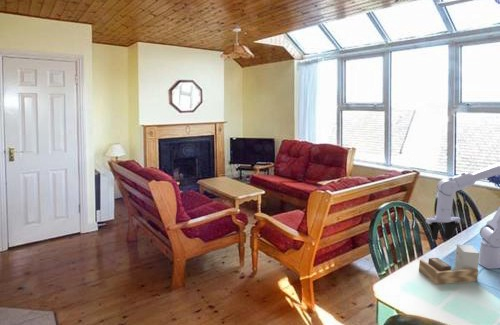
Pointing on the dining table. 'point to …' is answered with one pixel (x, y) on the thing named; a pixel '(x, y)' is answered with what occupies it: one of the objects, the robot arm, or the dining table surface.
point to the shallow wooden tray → (447, 274)
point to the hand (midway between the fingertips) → (440, 238)
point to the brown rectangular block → (439, 264)
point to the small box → (466, 257)
